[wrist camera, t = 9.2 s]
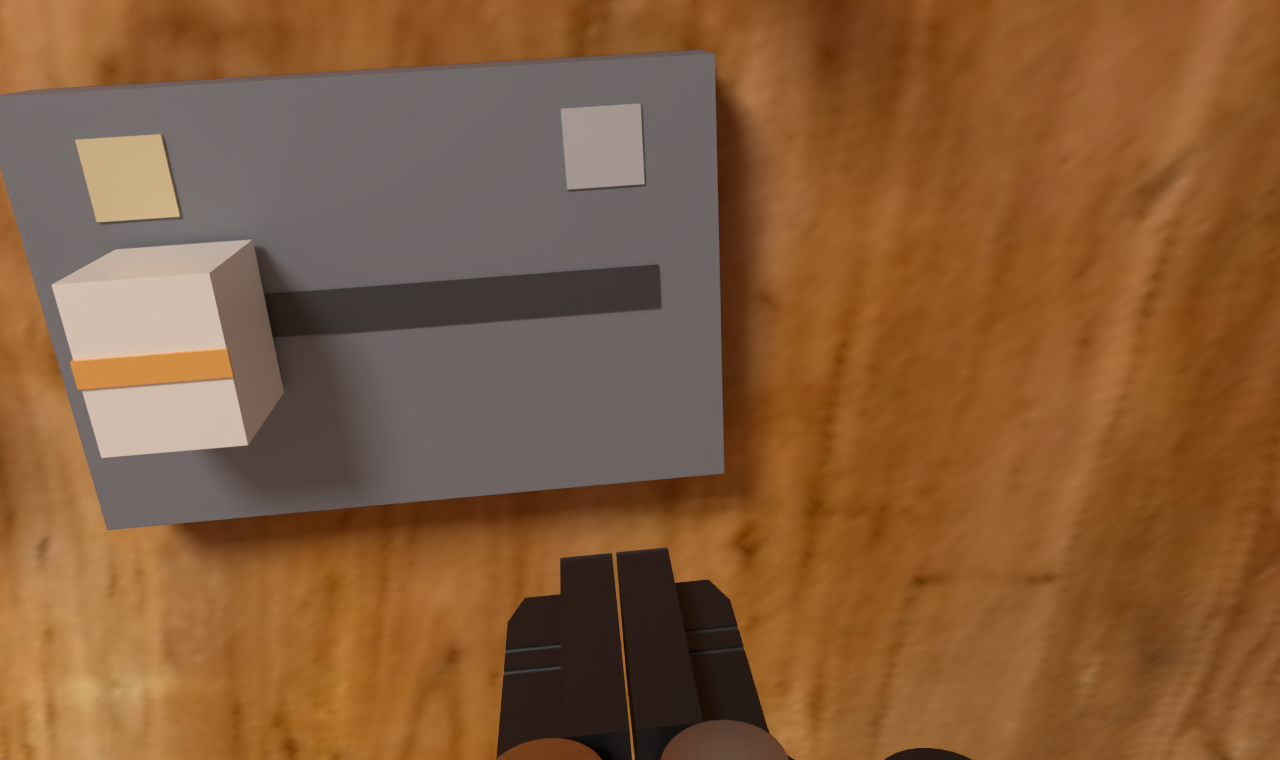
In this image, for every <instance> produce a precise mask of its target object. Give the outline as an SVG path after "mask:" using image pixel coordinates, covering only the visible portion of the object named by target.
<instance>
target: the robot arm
mask: <svg viewBox="0 0 1280 760" xmlns="http://www.w3.org/2000/svg"><path fill="white" fill-rule="evenodd" d="M616 556H617V569H618V581H619V593H620V605H621V618H622V630H623V642H624V654H625V665H626V676H627V686H628V696H629V706H630V716H631V725H632V735H633V745H634V754H635V760H794V759H792V758H791V757H789V756H788V755H787V754H786V752H785V750H784V748H783V747H782V746H781V744H780V743H779V742H778V741H777V740H776V739H775V738H774V737H773V736H772V735H770V733H769V730H768V728H767V725H766V721H765V718H764V714H763V711H762V708H761V704H760V701H759V697H758V694H757V691H756V687H755V684H754V680H753V677H752V674H751V670H750V667H749V663H748V660H747V656H746V653H745V651H744V648H743V643H742V639H741V636H740V633H739V630H738V628H737V622H736V619H735V616H734V612H733V609H732V605H731V602H730V599H728V598H727V597H726V596H725V595H724V594H723V593H722V592H721V591H720V590H719V589H718V588H717V587H716V586H715V585H714V584H713V583H712V582H711V581H709V580H700V581H690V582H680V583H675V582H674V577H673V572H672V567H671V562H670V557H669V552H668V549H667V548H658V549H648V550H637V551H627V552H617V553H616ZM560 572H561V594H560V595H550V596H540V597H530V598H525V599H524V600H523V602H522V603H521V604H520V606H519V607H518V609H517V610H516V612H515V613H514V614H513V616H512V617H511V619H510V620H509V621H508V628H507V640H506V654H505V664H504V676H503V688H502V700H501V712H500V725H499V737H498V749H497V758H496V760H632V756H631V744H630V731H629V721H628V711H627V701H626V691H625V681H624V671H623V661H622V651H621V641H620V631H619V621H618V611H617V601H616V591H615V580H614V570H613V560H612V553H608V554H598V555H588V556H577V557H567V558H561V561H560ZM885 760H971V759H969V758H967V757H965V756H963V755H960V754H957V753H954V752H951V751H946V750H942V749H933V748H916V749H909V750H904V751H901V752H898V753H895V754H893V755H891V756H889V757H888V758H886V759H885Z"/></svg>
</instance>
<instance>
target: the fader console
mask: <svg viewBox="0 0 1280 760" xmlns="http://www.w3.org/2000/svg"><path fill="white" fill-rule="evenodd" d="M0 168H1V171H2V174H3V178H4V181H5V184H6V188H7V191H8V195H9V198H10V201H11V205H12V208H13V212H14V215H15V218H16V222H17V225H18V228H19V232H20V235H21V239H22V242H23V245H24V249H25V252H26V256H27V259H28V262H29V266H30V269H31V273H32V276H33V279H34V283H35V286H36V289H37V293H38V296H39V300H40V303H41V306H42V310H43V313H44V317H45V320H46V323H47V327H48V330H49V333H50V337H51V340H52V344H53V347H54V350H55V354H56V357H57V361H58V364H59V367H60V371H61V374H62V377H63V381H64V384H65V388H66V391H67V394H68V398H69V401H70V405H71V408H72V411H73V415H74V418H75V422H76V425H77V428H78V432H79V435H80V438H81V442H82V445H83V449H84V452H85V455H86V459H87V462H88V466H89V469H90V472H91V476H92V479H93V482H94V486H95V489H96V493H97V496H98V499H99V503H100V506H101V510H102V513H103V516H104V520H105V523H106V526H107V530H114V529H125V528H135V527H146V526H157V525H168V524H179V523H190V522H201V521H212V520H223V519H234V518H244V517H255V516H266V515H277V514H288V513H299V512H310V511H321V510H332V509H343V508H353V507H364V506H375V505H386V504H397V503H408V502H419V501H430V500H441V499H452V498H463V497H473V496H484V495H495V494H506V493H517V492H528V491H539V490H550V489H561V488H572V487H582V486H593V485H604V484H615V483H626V482H637V481H648V480H659V479H670V478H681V477H691V476H702V475H713V474H724V434H723V391H722V347H721V304H720V260H719V216H718V173H717V129H716V86H715V53H711V52H707V51H702V50H688V51H672V52H655V53H639V54H622V55H606V56H589V57H572V58H556V59H539V60H523V61H506V62H489V63H473V64H456V65H440V66H423V67H406V68H390V69H373V70H357V71H340V72H323V73H307V74H290V75H274V76H257V77H240V78H224V79H207V80H191V81H174V82H157V83H141V84H124V85H108V86H91V87H74V88H58V89H41V90H30V91H23V92H16V93H10V94H3V95H0ZM252 239H253V244H254V249H255V253H256V258H257V263H258V268H259V273H260V278H261V283H262V288H263V292H264V297H265V302H266V307H267V312H268V317H269V322H270V327H271V331H272V336H273V341H274V346H275V351H276V356H277V361H278V366H279V370H280V375H281V380H282V385H283V390H284V393H283V395H282V396H281V398H280V399H279V401H278V402H277V404H276V405H275V407H274V408H273V410H272V411H271V412H270V414H269V415H268V417H267V418H266V420H265V421H264V423H263V424H262V426H261V427H260V429H259V430H258V432H257V433H256V434H255V436H254V437H253V439H252V440H251V442H250V443H249V445H246V446H234V447H223V448H211V449H200V450H188V451H177V452H165V453H153V454H142V455H130V456H119V457H107V458H101V455H100V451H99V448H98V445H97V441H96V438H95V434H94V431H93V427H92V424H91V420H90V417H89V413H88V410H87V406H86V403H85V400H84V396H83V393H82V389H81V390H78V389H77V386H76V382H75V379H74V375H73V372H72V369H71V365H70V361H73V358H72V354H71V351H70V348H69V344H68V341H67V337H66V334H65V330H64V327H63V323H62V320H61V316H60V313H59V309H58V306H57V303H56V299H55V296H54V292H53V289H52V284H54V283H56V282H57V281H59V280H61V279H63V278H65V277H66V276H68V275H70V274H72V273H74V272H75V271H77V270H79V269H81V268H83V267H85V266H86V265H88V264H90V263H92V262H94V261H95V260H97V259H99V258H101V257H103V256H105V255H106V254H108V253H110V252H112V251H114V250H115V249H127V248H141V247H154V246H168V245H182V244H196V243H210V242H224V241H238V240H252Z"/></svg>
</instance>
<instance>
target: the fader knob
mask: <svg viewBox="0 0 1280 760" xmlns="http://www.w3.org/2000/svg"><path fill="white" fill-rule="evenodd" d="M52 289H53V292H54V296H55V299H56V303H57V306H58V309H59V313H60V316H61V320H62V323H63V327H64V330H65V334H66V337H67V341H68V344H69V348H70V351H71V354H72V358H73V361H70V365H71V369H72V372H73V375H74V379H75V382H76V386H77V389H78V390H81V389H82V393H83V396H84V400H85V403H86V406H87V410H88V413H89V417H90V420H91V424H92V427H93V431H94V434H95V438H96V441H97V445H98V448H99V451H100V455H101V458H107V457H119V456H130V455H142V454H153V453H165V452H177V451H188V450H200V449H211V448H223V447H234V446H246V445H249V443H250V442H251V440H252V439H253V437H254V436H255V434H256V433H257V432H258V430H259V429H260V427H261V426H262V424H263V423H264V421H265V420H266V418H267V417H268V415H269V414H270V412H271V411H272V410H273V408H274V407H275V405H276V404H277V402H278V401H279V399H280V398H281V396H282V395H283V393H284V390H283V385H282V380H281V375H280V370H279V366H278V361H277V356H276V351H275V346H274V341H273V336H272V331H271V327H270V322H269V317H268V312H267V307H266V302H265V297H264V292H263V288H262V283H261V278H260V273H259V268H258V263H257V258H256V253H255V249H254V244H253V239H252V240H238V241H224V242H210V243H196V244H182V245H168V246H154V247H141V248H127V249H115V250H114V251H112V252H110V253H108V254H106V255H105V256H103V257H101V258H99V259H97V260H95V261H94V262H92V263H90V264H88V265H86V266H85V267H83V268H81V269H79V270H77V271H75V272H74V273H72V274H70V275H68V276H66V277H65V278H63V279H61V280H59V281H57V282H56V283H54V284H52Z"/></svg>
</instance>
